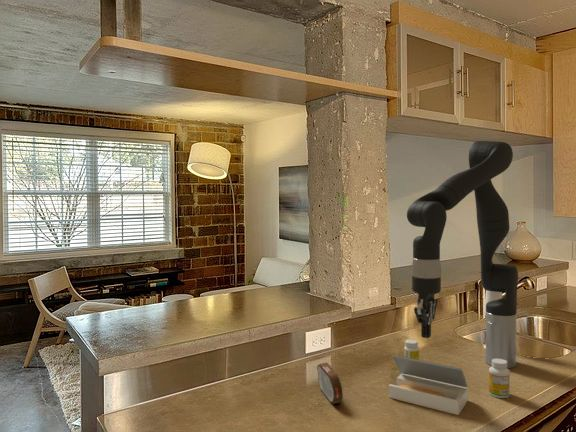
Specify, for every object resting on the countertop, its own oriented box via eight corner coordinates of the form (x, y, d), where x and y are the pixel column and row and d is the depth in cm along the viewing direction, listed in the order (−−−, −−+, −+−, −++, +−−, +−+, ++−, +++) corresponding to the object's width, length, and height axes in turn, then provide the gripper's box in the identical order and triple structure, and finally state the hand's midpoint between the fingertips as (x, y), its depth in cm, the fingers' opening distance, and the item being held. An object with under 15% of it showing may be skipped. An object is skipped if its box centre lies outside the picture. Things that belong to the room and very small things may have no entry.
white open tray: (401, 384, 139) (401, 373, 139) (467, 400, 128) (467, 387, 128) (388, 397, 131) (388, 385, 130) (458, 415, 120) (458, 401, 120)
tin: (343, 408, 125) (343, 377, 124) (332, 409, 124) (332, 378, 124) (325, 385, 140) (325, 358, 139) (315, 386, 139) (315, 359, 138)
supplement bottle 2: (491, 388, 135) (492, 356, 135) (511, 393, 132) (512, 360, 131) (486, 395, 131) (486, 361, 130) (506, 400, 128) (507, 366, 127)
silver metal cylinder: (507, 348, 168) (508, 283, 166) (494, 351, 165) (495, 285, 164) (492, 343, 174) (492, 280, 172) (479, 346, 171) (479, 282, 170)
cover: (400, 373, 138) (401, 370, 139) (467, 387, 127) (467, 384, 128) (392, 356, 132) (393, 353, 133) (461, 370, 122) (462, 367, 122)
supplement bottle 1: (421, 365, 153) (421, 340, 153) (415, 370, 150) (415, 344, 149) (407, 362, 156) (407, 338, 156) (401, 366, 153) (401, 341, 152)
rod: (399, 393, 134) (399, 382, 134) (445, 403, 127) (445, 392, 127) (395, 396, 131) (396, 385, 131) (443, 406, 125) (443, 395, 125)
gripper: (432, 280, 119) (432, 346, 120) (447, 272, 129) (446, 332, 130) (404, 277, 123) (404, 341, 124) (420, 269, 134) (420, 328, 135)
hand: (426, 337), depth 127 cm, fingers closed
